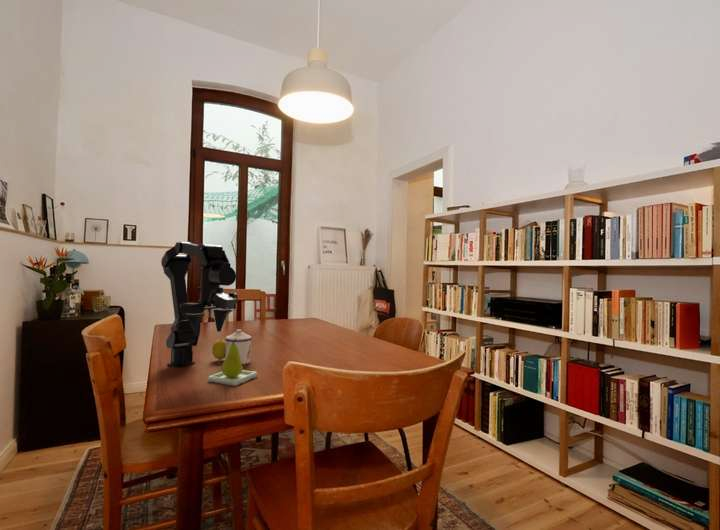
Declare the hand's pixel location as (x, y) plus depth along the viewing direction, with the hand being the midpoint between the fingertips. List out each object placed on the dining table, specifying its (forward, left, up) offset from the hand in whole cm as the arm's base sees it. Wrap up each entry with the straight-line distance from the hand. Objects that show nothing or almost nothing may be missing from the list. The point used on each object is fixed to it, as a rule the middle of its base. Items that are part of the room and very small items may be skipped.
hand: (208, 333), depth 116 cm
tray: (+10, 0, -13) cm, 16 cm away
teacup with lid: (-3, +18, -13) cm, 23 cm away
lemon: (-9, +16, -13) cm, 23 cm away
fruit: (+10, 0, -13) cm, 16 cm away
